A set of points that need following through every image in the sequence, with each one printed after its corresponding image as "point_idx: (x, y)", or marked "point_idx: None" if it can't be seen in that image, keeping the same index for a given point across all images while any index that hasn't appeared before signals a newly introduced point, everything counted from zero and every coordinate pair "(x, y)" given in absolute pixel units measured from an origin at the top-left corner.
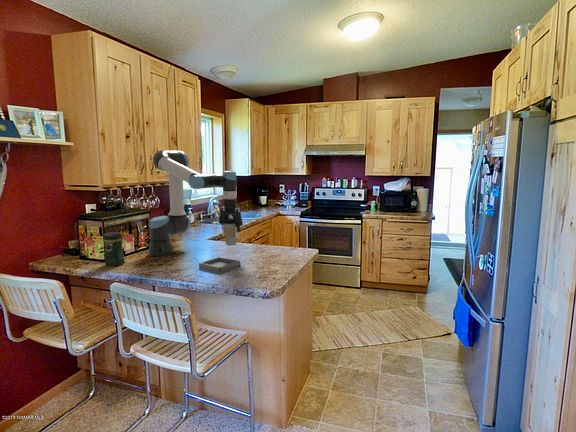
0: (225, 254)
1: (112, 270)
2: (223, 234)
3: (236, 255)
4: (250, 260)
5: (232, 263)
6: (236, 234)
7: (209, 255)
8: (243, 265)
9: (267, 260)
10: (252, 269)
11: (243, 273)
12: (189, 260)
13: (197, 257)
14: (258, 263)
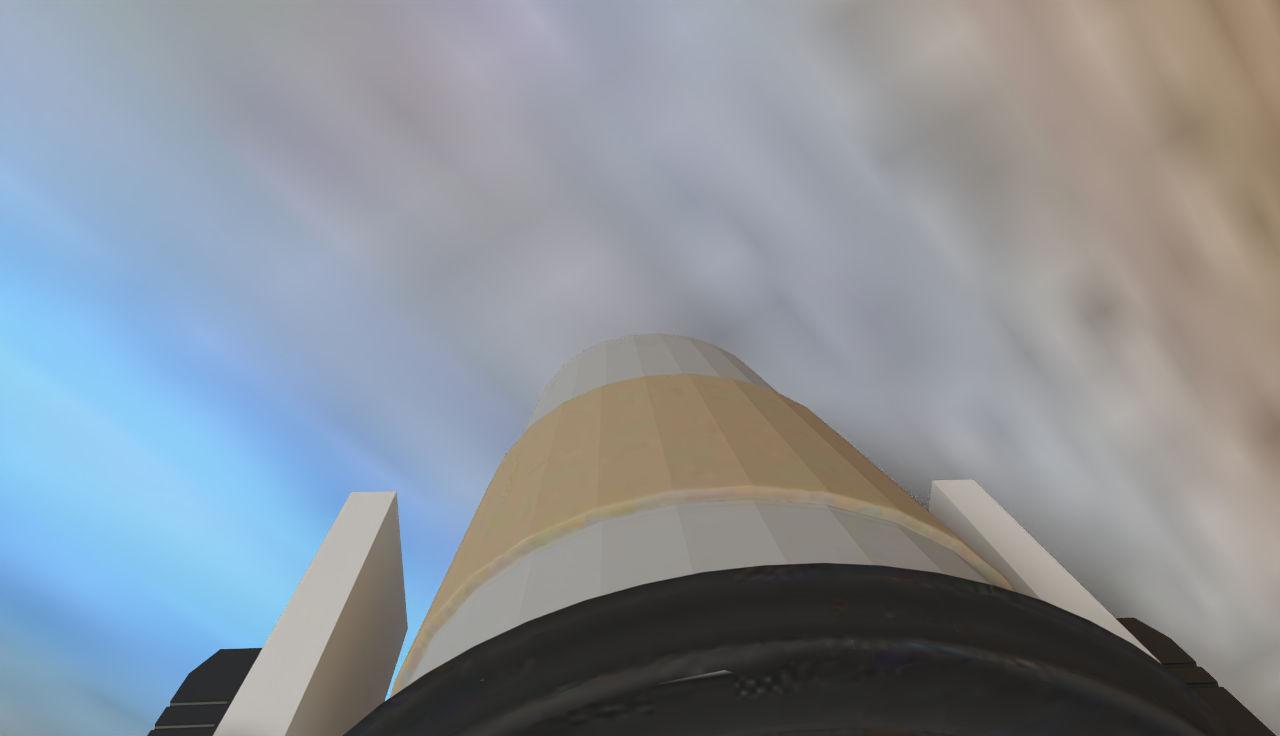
0: (241, 127)
1: None
2: (397, 659)
3: (491, 63)
4: (959, 200)
5: None
6: None
7: (55, 353)
8: (1017, 478)
9: (1247, 26)
10: (1243, 548)
11: None
12: (89, 723)
13: (15, 553)
14: (1182, 271)
